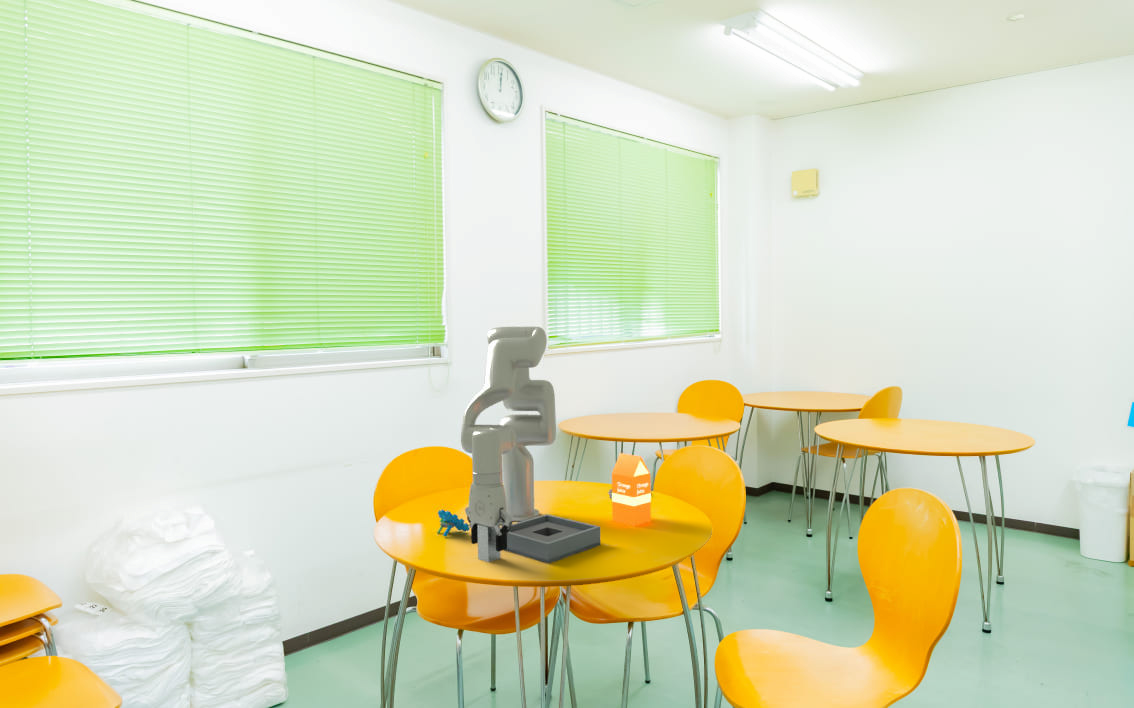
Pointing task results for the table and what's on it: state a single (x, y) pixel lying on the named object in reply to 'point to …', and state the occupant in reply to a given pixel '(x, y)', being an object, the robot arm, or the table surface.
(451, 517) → the blue bumpy legged piece
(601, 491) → the table surface
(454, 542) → the table surface
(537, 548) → the box
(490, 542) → the peg
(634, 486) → the orange juice
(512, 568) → the table surface
